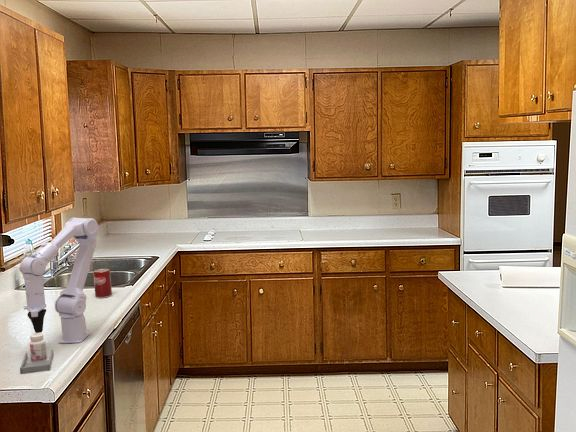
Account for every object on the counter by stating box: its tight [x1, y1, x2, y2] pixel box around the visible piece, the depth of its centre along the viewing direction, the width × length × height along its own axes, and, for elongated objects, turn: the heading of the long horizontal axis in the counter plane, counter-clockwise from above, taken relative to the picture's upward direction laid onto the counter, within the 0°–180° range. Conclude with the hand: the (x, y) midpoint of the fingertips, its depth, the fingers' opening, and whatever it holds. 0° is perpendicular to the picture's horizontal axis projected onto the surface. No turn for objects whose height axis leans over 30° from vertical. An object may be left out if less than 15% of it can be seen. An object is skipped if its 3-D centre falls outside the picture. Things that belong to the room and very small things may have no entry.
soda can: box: [92, 268, 113, 299], centre depth 295 cm, size 7×7×12 cm
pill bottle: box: [29, 332, 47, 362], centre depth 215 cm, size 5×5×8 cm
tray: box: [19, 349, 55, 375], centre depth 211 cm, size 15×9×2 cm, turn 15°
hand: (39, 332), depth 221 cm, fingers closed
